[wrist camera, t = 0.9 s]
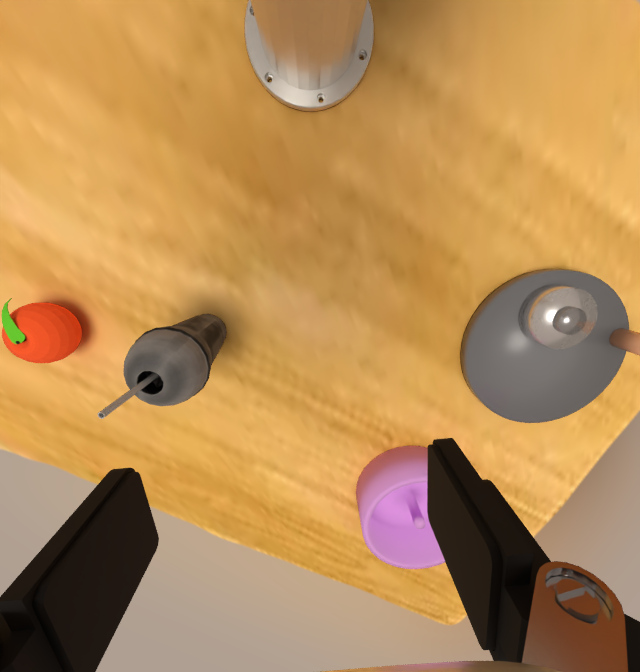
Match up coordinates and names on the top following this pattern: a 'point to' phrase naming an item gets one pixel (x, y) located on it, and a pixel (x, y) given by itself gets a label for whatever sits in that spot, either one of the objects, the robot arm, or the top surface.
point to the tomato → (40, 332)
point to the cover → (558, 316)
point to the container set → (398, 509)
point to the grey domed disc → (543, 352)
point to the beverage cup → (171, 362)
